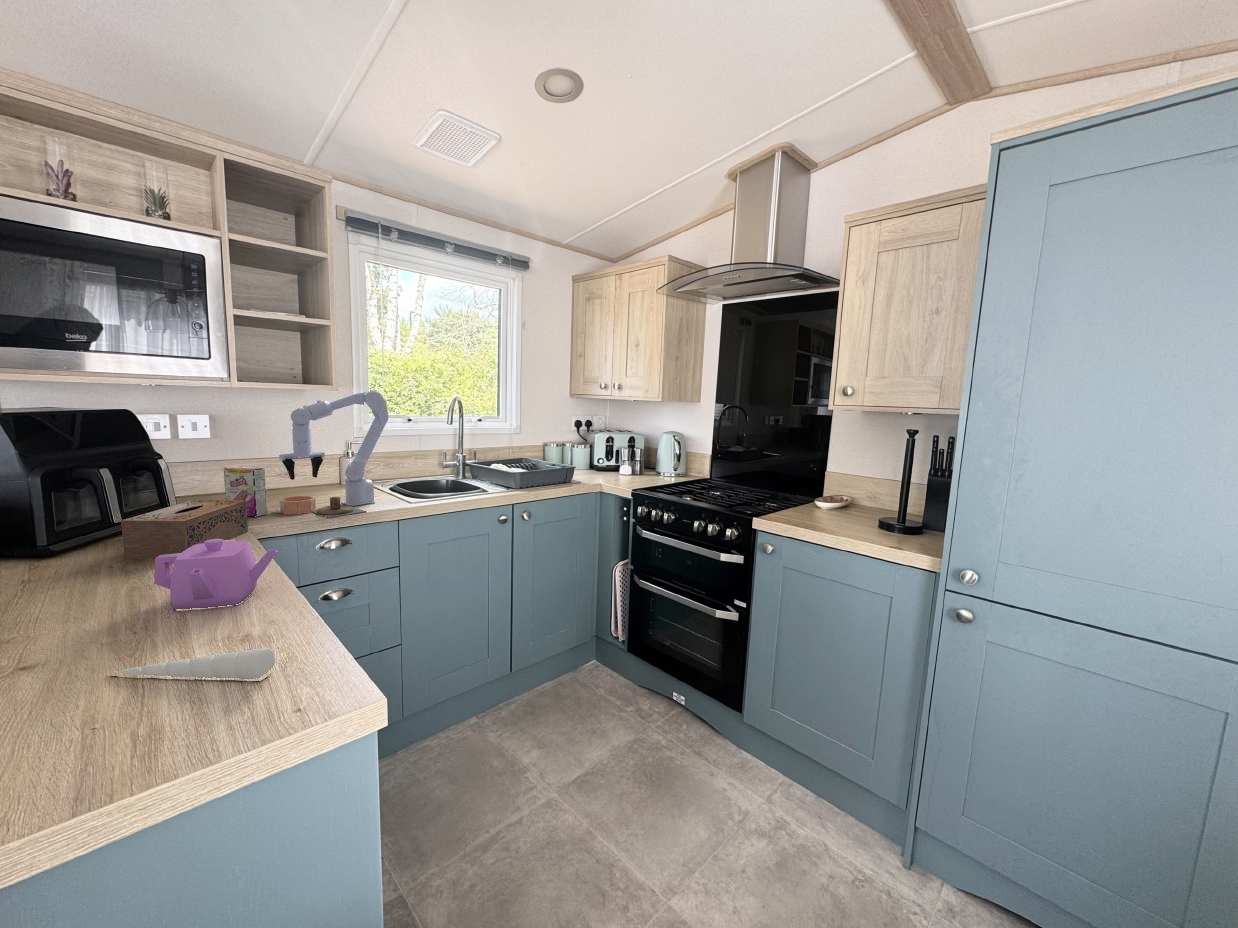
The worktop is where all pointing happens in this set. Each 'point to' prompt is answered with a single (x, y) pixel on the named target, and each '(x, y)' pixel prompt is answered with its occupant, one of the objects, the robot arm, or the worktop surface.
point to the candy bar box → (247, 488)
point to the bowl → (297, 504)
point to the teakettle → (211, 573)
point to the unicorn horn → (214, 666)
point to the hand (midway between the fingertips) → (303, 478)
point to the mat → (355, 511)
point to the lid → (335, 508)
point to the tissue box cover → (183, 527)
